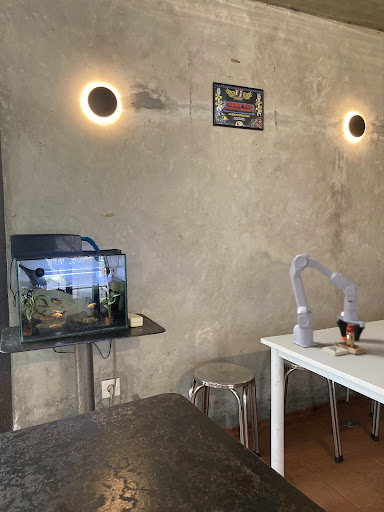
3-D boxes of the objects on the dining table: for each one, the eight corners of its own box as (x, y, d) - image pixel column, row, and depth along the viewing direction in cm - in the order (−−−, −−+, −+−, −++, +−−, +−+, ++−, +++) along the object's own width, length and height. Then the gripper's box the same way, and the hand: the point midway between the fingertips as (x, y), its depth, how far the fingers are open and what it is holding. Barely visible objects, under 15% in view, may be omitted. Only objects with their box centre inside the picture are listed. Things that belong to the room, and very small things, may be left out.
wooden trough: (335, 347, 180) (335, 342, 180) (345, 345, 183) (345, 341, 183) (355, 355, 169) (355, 350, 169) (365, 352, 172) (365, 348, 172)
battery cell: (344, 348, 177) (345, 332, 176) (349, 347, 178) (350, 332, 178) (350, 350, 174) (350, 334, 173) (355, 349, 175) (355, 333, 175)
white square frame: (321, 350, 176) (321, 346, 176) (335, 348, 179) (335, 344, 179) (334, 356, 168) (334, 351, 168) (348, 353, 172) (348, 349, 172)
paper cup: (337, 340, 192) (338, 312, 191) (344, 336, 197) (344, 310, 196) (353, 343, 186) (353, 315, 185) (359, 339, 192) (360, 312, 191)
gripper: (370, 311, 170) (369, 341, 171) (344, 305, 183) (344, 333, 184) (358, 313, 167) (357, 343, 168) (333, 307, 180) (333, 335, 181)
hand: (350, 338), depth 176 cm, fingers open, 7 cm apart
